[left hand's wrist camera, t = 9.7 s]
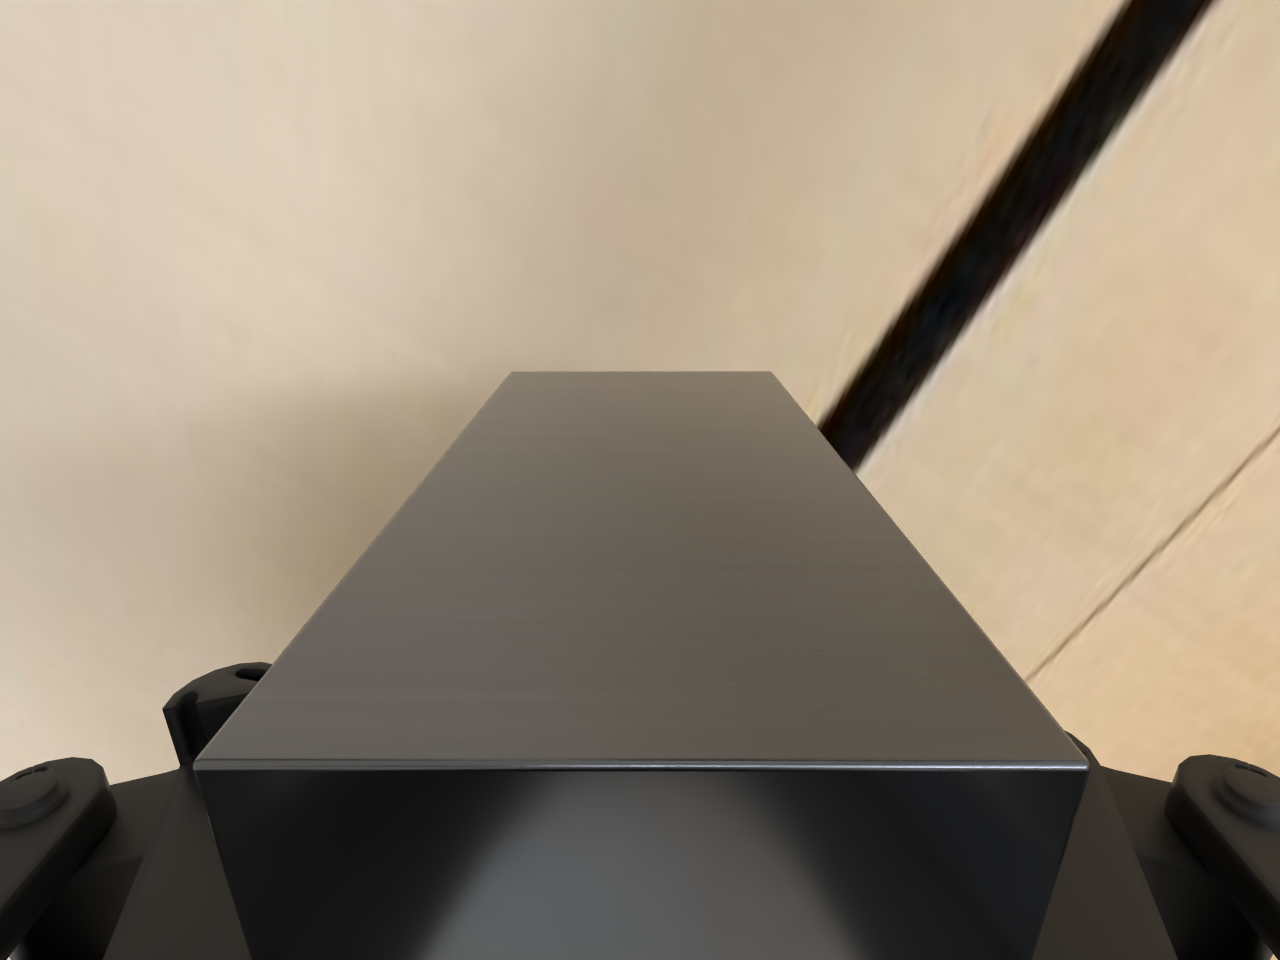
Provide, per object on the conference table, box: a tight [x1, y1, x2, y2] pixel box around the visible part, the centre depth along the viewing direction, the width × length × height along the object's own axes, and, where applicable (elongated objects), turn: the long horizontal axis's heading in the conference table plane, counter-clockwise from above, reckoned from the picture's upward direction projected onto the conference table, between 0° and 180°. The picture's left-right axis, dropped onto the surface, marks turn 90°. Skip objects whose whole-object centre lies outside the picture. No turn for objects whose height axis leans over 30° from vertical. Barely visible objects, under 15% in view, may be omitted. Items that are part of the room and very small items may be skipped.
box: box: [193, 372, 1090, 960], centre depth 14 cm, size 21×6×12 cm, turn 0°
